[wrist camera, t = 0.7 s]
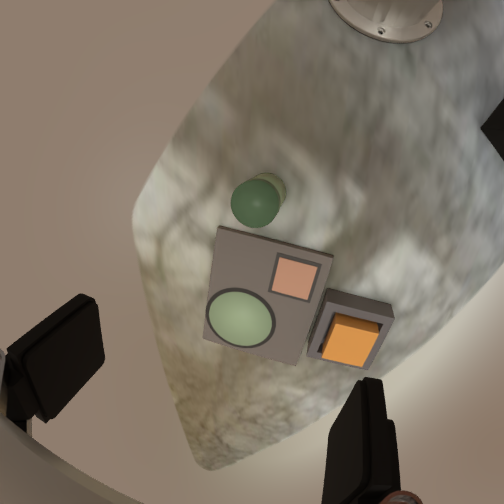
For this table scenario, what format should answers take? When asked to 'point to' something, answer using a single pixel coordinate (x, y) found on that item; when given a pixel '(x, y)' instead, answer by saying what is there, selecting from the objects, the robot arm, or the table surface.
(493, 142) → the tissue box
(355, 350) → the button
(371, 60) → the table surface
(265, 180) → the green capped cylinder
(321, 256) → the colouring board
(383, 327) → the button housing
